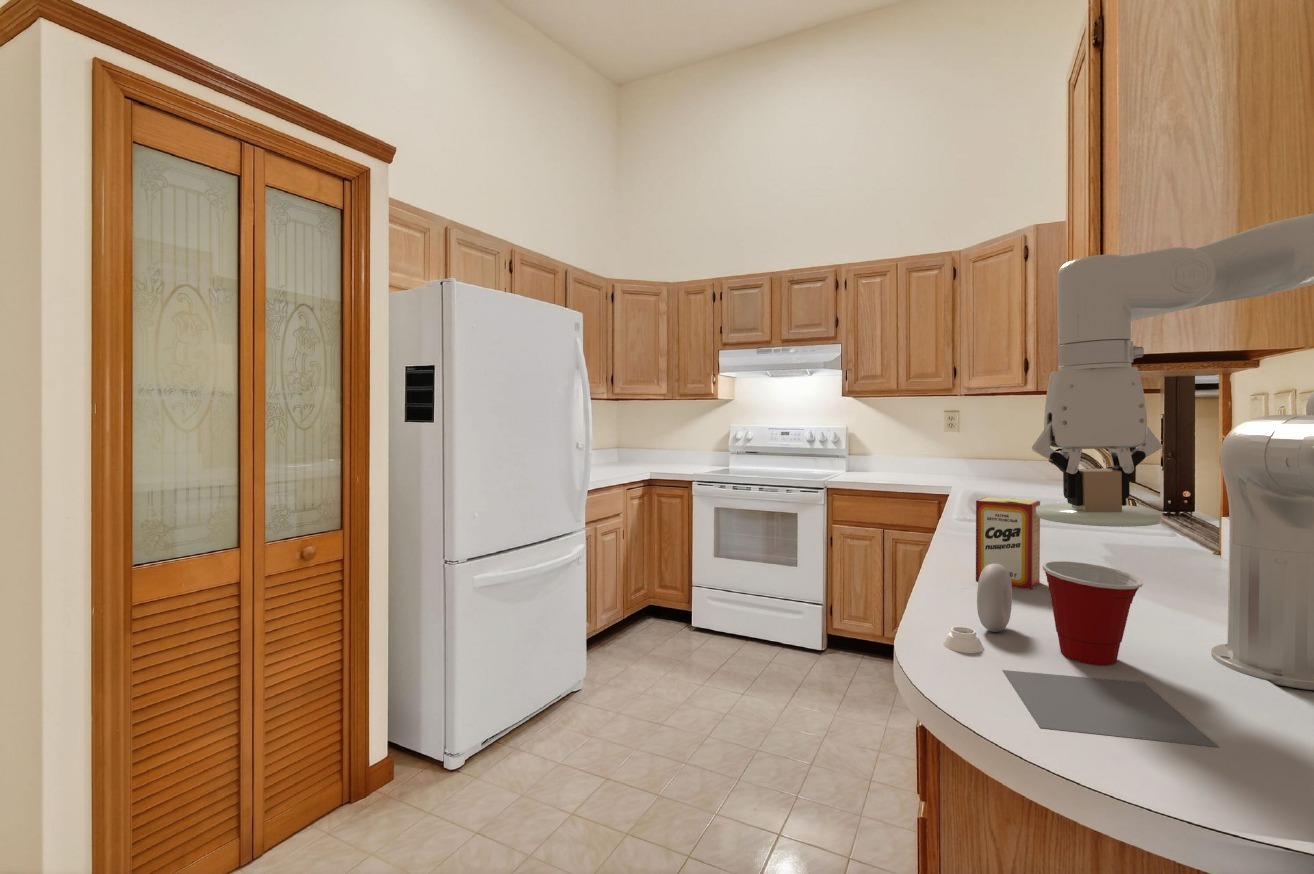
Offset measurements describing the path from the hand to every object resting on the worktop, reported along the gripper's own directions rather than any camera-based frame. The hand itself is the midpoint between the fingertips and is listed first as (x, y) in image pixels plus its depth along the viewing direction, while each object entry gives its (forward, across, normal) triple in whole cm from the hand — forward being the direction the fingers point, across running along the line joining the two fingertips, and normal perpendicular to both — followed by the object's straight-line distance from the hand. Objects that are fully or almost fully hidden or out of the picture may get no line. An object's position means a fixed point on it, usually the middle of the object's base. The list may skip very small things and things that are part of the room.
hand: (1095, 502), depth 79 cm
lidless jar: (+21, +15, -3) cm, 26 cm away
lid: (+2, 0, 0) cm, 2 cm away
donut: (+21, +9, -12) cm, 26 cm away
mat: (+21, +5, +13) cm, 25 cm away
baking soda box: (+21, -1, -43) cm, 48 cm away
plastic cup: (+21, 0, -2) cm, 21 cm away
